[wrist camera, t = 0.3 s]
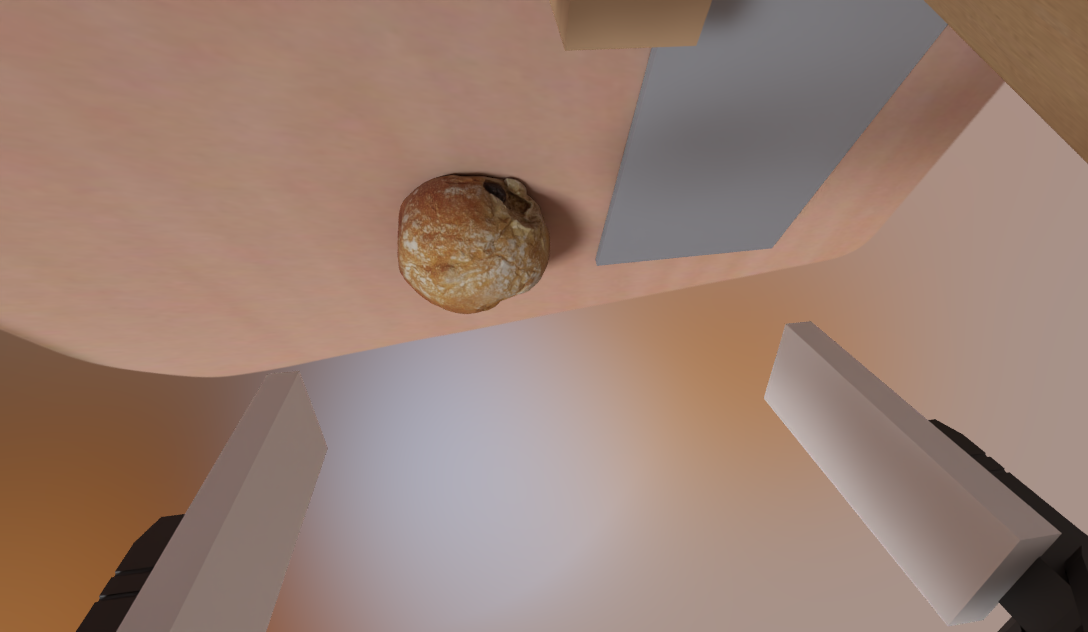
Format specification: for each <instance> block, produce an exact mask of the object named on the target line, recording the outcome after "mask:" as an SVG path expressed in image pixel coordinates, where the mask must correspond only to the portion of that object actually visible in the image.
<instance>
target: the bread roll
mask: <svg viewBox="0 0 1088 632" xmlns="http://www.w3.org/2000/svg"><path fill="white" fill-rule="evenodd" d="M397 244H398V262H399V269H400V272H401V274H402V275H403V277H404V279H405V280H406V281H407V283H408V284H409V285H410V286H411V287H412V288H413V289H414V290H415V291H416V292H417V293H418V294H419V295H421V296H422V297H423V298H424V299H426V300H428V301H429V302H430V303H432V304H434V305H437V306H439V307H441V308H443V309H445V310H448V311H451V312H455V313H462V314H471V313H478V312H481V311H486V310H489V309H491V308H494V307H495V306H496V305H497V304H498V303H499V302H500V301H502V300H505V299H508V298H510V297H513V296H515V295H517V294H521V293H524V292H527V291H529V290H530V289H531V288H533V287H534V286H535V285H536V284H537V283H538V282H539V280H540V279H541V277H542V275H543V273H544V271H545V269H546V266H547V264H548V260H549V253H550V236H549V232H548V229H547V227H546V225H545V222H544V218H543V216H542V215H541V212H540V208H539V205H538V204H537V203H536V202H535V201H534V200H533V199H532V198H531V197H529V196H527V191H526V187H525V186H524V185H523V184H522V183H521V182H519V181H518V180H514V179H509V178H506V179H505V180H504V179H496V178H490V177H485V176H457V175H448V176H442V177H437V178H434V179H431V180H429V181H427V182H425V183H423V184H422V185H420V186H419V187H417V188H416V189H415V190H414V191H413V192H412V193H411V194H410V195H409V196H408V197H407V198H406V199H405V200H404V201H403V203H402V205H401V208H400V212H399V227H398V243H397Z"/></svg>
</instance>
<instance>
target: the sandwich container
mask: <svg viewBox="0 0 1088 632" xmlns="http://www.w3.org/2000/svg"><path fill="white" fill-rule="evenodd" d="M924 1H925V2H926V3H927V4H928V5H929V6H930V7H931V8H932V9H933V10H934V11H935V12H936V13H937V14H938V15H939V16H940V17H941V18H942V19H943V20H944V21H945V22H946V23H947V24H948V25H949V26H950V27H951V28H952V29H953V30H954V31H955V32H956V33H957V34H958V35H959V36H960V37H961V38H962V39H963V40H964V41H965V42H966V43H967V44H968V45H969V46H970V47H971V48H972V49H973V50H974V51H975V52H976V53H977V54H978V55H979V56H980V57H981V58H982V59H983V60H984V61H985V62H986V63H987V64H988V65H989V66H990V67H991V68H992V69H993V70H994V71H995V72H996V73H997V74H998V75H999V76H1000V77H1001V78H1002V79H1003V80H1004V81H1005V82H1006V83H1007V84H1008V85H1009V86H1010V87H1011V88H1012V89H1013V90H1014V91H1015V92H1016V93H1017V94H1018V95H1019V96H1020V97H1021V98H1022V99H1023V100H1024V101H1025V102H1026V103H1027V104H1029V106H1030V107H1031V108H1032V109H1033V110H1034V111H1035V112H1036V113H1037V114H1038V115H1039V116H1041V118H1042V119H1043V120H1044V121H1045V122H1046V123H1047V124H1048V125H1049V126H1051V128H1052V129H1054V131H1056V132H1057V134H1058V135H1059V136H1060V137H1061V138H1062V139H1064V140H1065V142H1067V143H1068V144H1069V145H1070V146H1071V147H1072V148H1073V149H1074V150H1075V151H1076V152H1077V153H1078V154H1079V155H1080V156H1081V157H1082V158H1083V159H1084V160H1085V161H1086V162H1087V163H1088V0H924Z"/></svg>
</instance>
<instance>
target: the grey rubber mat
mask: <svg viewBox="0 0 1088 632" xmlns="http://www.w3.org/2000/svg"><path fill="white" fill-rule="evenodd" d="M947 25H948V24H947V23H946V22H945V21H944V20H943V19H942V18H941V17H940V16H939V15H938V14H937V13H936V12H935V11H934V10H933V9H932V8H931V7H930V6H929V5H928V4H927V3H926V2H925V1H924V0H712V2H711V5H710V8H709V11H708V14H707V16H706V19H705V22H704V25H703V28H702V31H701V34H700V37H699V39H698V42H697V45H696V46H679V47H652V49H651V53H650V57H649V61H648V64H647V68H646V72H645V76H644V79H643V83H642V87H641V91H640V94H639V98H638V102H637V106H636V109H635V113H634V117H633V121H632V124H631V128H630V132H629V136H628V139H627V143H626V147H625V151H624V154H623V158H622V162H621V166H620V169H619V173H618V177H617V181H616V184H615V188H614V192H613V196H612V199H611V203H610V207H609V211H608V214H607V218H606V222H605V226H604V229H603V233H602V237H601V241H600V244H599V248H598V252H597V256H596V259H595V260H596V264H597V266H599V265H609V264H619V263H629V262H639V261H649V260H659V259H669V258H679V257H689V256H699V255H709V254H719V253H729V252H739V251H749V250H759V249H769V248H772V247H773V246H774V245H775V244H776V242H777V241H778V240H779V238H780V237H781V236H782V235H783V233H784V232H785V231H786V230H787V228H788V227H789V226H790V224H791V223H792V222H793V221H794V219H795V218H796V217H797V216H798V214H799V213H800V212H801V210H802V209H803V208H804V207H805V205H806V204H807V203H808V202H809V200H810V199H811V198H812V196H813V195H814V194H815V193H816V191H817V190H818V189H819V188H820V186H821V185H822V184H823V183H824V181H825V180H826V179H827V177H828V176H829V175H830V174H831V172H832V171H833V170H834V169H835V167H836V166H837V165H838V163H839V162H840V161H841V160H842V158H843V157H844V156H845V155H846V153H847V152H848V151H849V149H850V148H851V147H852V146H853V144H854V143H855V142H856V141H857V139H858V138H859V137H860V135H861V134H862V133H863V132H864V130H865V129H866V128H867V127H868V125H869V124H870V123H871V121H872V120H873V119H874V118H875V116H876V115H877V114H878V113H879V111H880V110H881V109H882V107H883V106H884V105H885V104H886V102H887V101H888V100H889V99H890V97H891V96H892V95H893V94H894V92H895V91H896V90H897V88H898V87H899V86H900V85H901V83H902V82H903V81H904V80H905V78H906V77H907V76H908V74H909V73H910V72H911V71H912V69H913V68H914V67H915V66H916V64H917V63H918V62H919V60H920V59H921V58H922V57H923V55H924V54H925V53H926V52H927V50H928V49H929V48H930V46H931V45H932V44H933V43H934V41H935V40H936V39H937V38H938V36H939V35H940V34H941V32H942V31H943V30H944V29H945V27H946V26H947Z"/></svg>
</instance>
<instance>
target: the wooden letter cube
mask: <svg viewBox="0 0 1088 632" xmlns="http://www.w3.org/2000/svg"><path fill="white" fill-rule="evenodd" d="M549 1H550V4H551V7H552V10H553V14H554V17H555V20H556V23H557V26H558V30H559V33H560V36H561V39H562V42H563V45H564V49H565V51H569V50H596V49H624V48H651V47H679V46H696V45H697V42H698V39H699V37H700V34H701V31H702V28H703V25H704V22H705V19H706V16H707V14H708V11H709V8H710V5H711V2H712V0H549Z"/></svg>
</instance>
